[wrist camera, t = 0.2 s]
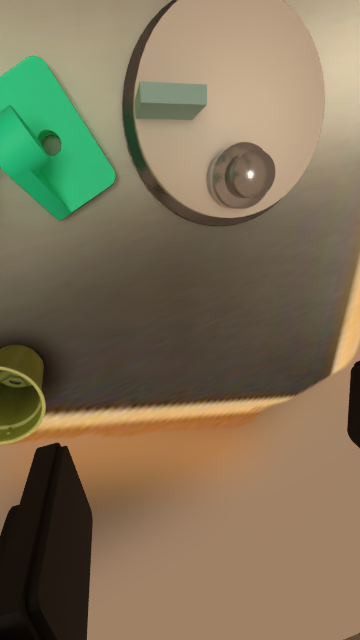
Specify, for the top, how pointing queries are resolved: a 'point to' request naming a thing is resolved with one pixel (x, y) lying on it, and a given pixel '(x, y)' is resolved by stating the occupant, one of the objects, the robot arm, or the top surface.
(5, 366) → the plant pot
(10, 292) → the top surface
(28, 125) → the camera mount
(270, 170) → the cover
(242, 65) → the turntable
